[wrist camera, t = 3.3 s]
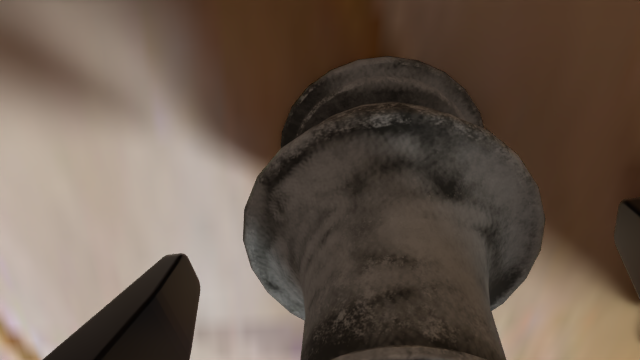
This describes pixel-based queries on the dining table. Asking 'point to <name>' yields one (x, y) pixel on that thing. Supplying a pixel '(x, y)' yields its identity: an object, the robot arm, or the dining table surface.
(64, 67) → the dining table surface
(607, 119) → the dining table surface
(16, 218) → the dining table surface
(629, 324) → the dining table surface
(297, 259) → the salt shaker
